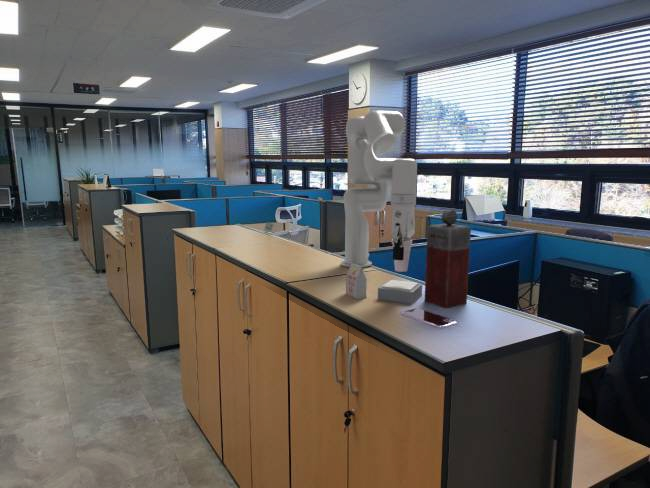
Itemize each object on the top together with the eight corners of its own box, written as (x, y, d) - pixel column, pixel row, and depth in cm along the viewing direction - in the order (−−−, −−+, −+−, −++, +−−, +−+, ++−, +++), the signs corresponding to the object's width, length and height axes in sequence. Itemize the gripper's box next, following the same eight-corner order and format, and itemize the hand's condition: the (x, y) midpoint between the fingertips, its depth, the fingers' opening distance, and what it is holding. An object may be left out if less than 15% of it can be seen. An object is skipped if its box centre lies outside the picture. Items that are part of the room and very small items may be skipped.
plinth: (388, 290, 156) (389, 278, 155) (421, 294, 151) (422, 282, 151) (377, 299, 146) (378, 286, 146) (412, 303, 142) (413, 290, 141)
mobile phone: (417, 306, 136) (459, 320, 124) (417, 310, 137) (459, 324, 125) (398, 311, 132) (440, 326, 120) (398, 314, 132) (440, 330, 120)
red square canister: (439, 294, 151) (443, 207, 147) (467, 303, 142) (472, 210, 137) (418, 299, 146) (422, 208, 142) (446, 308, 137) (451, 211, 133)
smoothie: (393, 267, 152) (394, 224, 149) (413, 269, 149) (415, 225, 147) (388, 271, 146) (389, 226, 143) (409, 273, 143) (410, 227, 141)
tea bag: (355, 292, 154) (356, 262, 152) (366, 297, 148) (366, 266, 146) (345, 293, 152) (346, 263, 150) (355, 299, 146) (356, 267, 144)
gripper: (407, 202, 135) (405, 264, 137) (422, 198, 150) (420, 254, 153) (382, 201, 138) (380, 261, 141) (399, 197, 153) (398, 252, 156)
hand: (401, 257), depth 147 cm, fingers closed on smoothie, 6 cm apart
